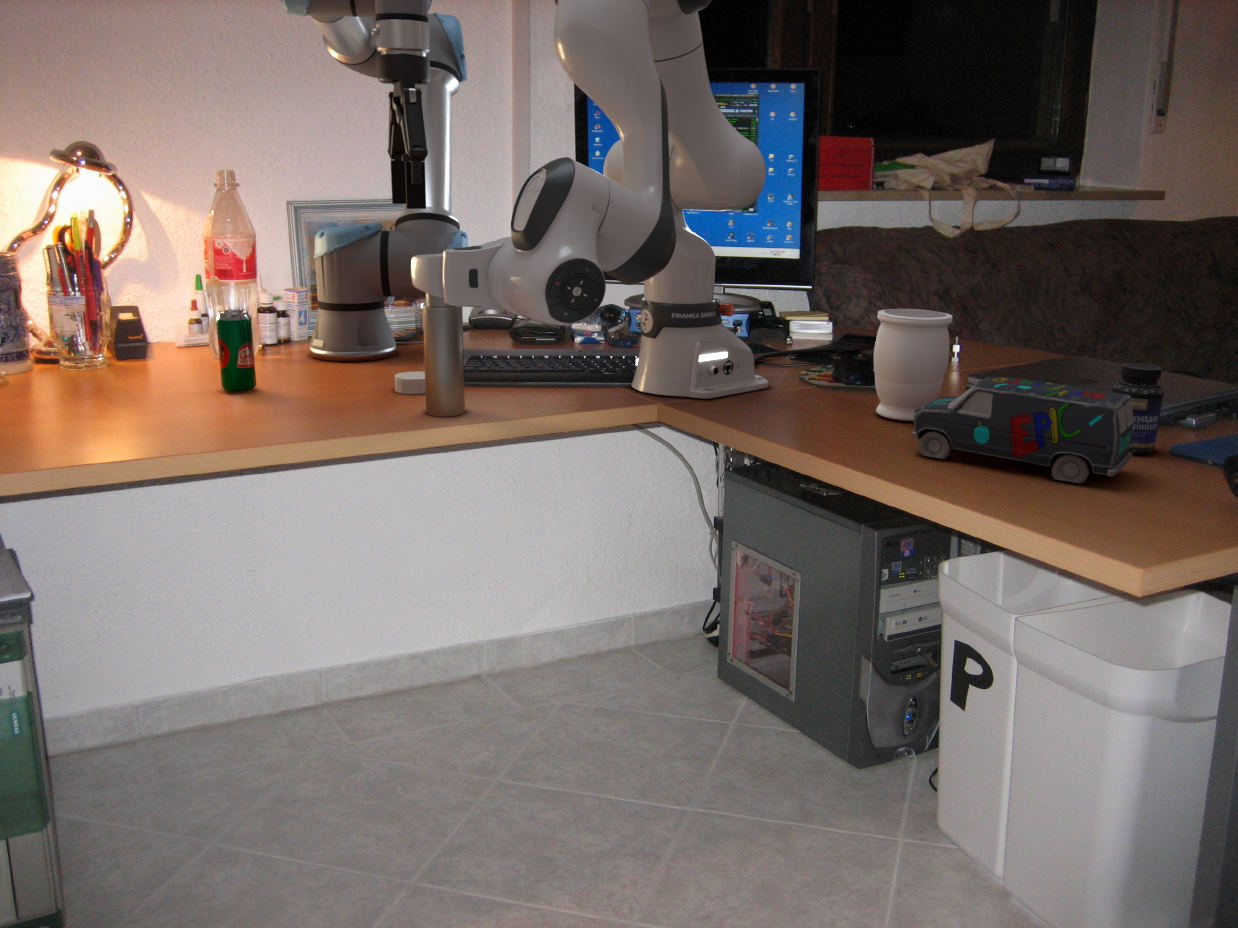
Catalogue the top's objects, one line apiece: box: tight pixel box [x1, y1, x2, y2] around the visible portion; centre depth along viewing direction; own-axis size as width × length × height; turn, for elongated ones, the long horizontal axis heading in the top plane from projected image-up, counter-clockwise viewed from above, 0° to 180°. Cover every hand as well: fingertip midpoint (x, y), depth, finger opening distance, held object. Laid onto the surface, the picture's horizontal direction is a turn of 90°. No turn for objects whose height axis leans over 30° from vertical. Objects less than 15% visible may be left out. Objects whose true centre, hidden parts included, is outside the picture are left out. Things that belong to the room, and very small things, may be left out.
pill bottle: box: [1111, 362, 1165, 455], centre depth 139 cm, size 6×6×11 cm
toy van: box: [911, 376, 1135, 484], centre depth 132 cm, size 11×25×10 cm, turn 54°
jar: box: [873, 308, 953, 422], centre depth 154 cm, size 11×10×15 cm
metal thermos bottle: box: [422, 293, 466, 418], centre depth 151 cm, size 6×6×18 cm
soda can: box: [215, 309, 257, 393], centre depth 163 cm, size 5×5×12 cm
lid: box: [393, 370, 426, 395], centre depth 167 cm, size 6×6×2 cm
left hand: (408, 206), depth 160 cm, fingers open, 13 cm apart
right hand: (471, 264), depth 138 cm, fingers open, 8 cm apart
